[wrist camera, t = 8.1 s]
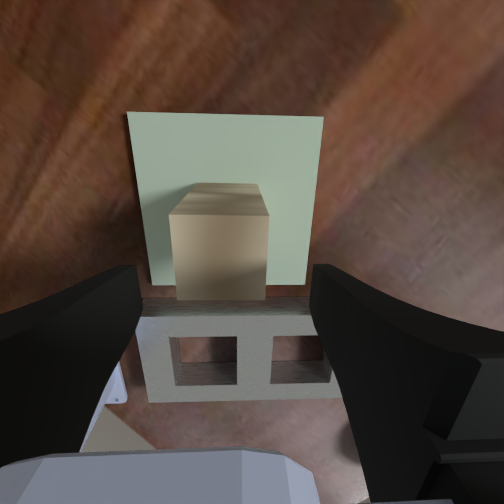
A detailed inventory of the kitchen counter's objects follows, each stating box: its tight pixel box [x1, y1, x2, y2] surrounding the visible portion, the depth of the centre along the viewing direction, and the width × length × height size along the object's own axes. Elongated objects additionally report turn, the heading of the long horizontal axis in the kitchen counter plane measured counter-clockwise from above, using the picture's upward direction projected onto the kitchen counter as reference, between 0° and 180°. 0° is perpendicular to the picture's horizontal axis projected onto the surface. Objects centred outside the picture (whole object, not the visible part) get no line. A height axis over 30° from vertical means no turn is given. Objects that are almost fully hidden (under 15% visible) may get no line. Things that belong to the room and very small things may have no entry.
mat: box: [127, 112, 324, 285], centre depth 19 cm, size 12×12×1 cm
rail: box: [135, 297, 342, 403], centre depth 23 cm, size 18×9×2 cm, turn 89°
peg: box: [169, 183, 269, 300], centre depth 15 cm, size 4×4×8 cm
